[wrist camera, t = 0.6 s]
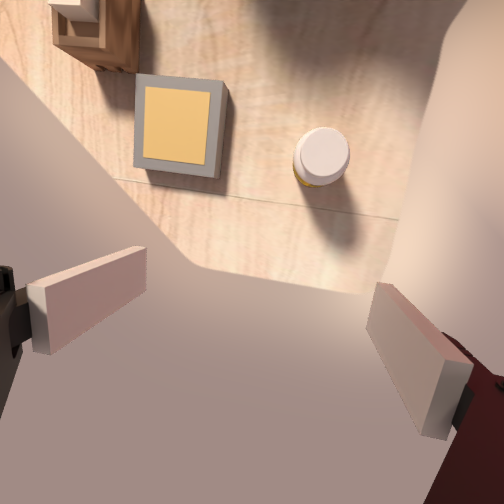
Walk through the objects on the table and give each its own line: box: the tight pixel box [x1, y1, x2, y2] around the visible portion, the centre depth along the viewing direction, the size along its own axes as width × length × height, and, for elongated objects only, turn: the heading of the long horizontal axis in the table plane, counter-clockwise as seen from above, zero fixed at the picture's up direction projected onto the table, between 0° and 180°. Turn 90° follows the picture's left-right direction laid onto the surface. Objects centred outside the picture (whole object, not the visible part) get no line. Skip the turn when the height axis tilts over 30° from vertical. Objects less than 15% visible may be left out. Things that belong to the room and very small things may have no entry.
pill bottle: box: [293, 127, 350, 188], centre depth 32 cm, size 6×6×11 cm
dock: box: [133, 73, 229, 179], centre depth 37 cm, size 12×12×3 cm
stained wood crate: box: [52, 0, 141, 74], centre depth 34 cm, size 10×7×7 cm
